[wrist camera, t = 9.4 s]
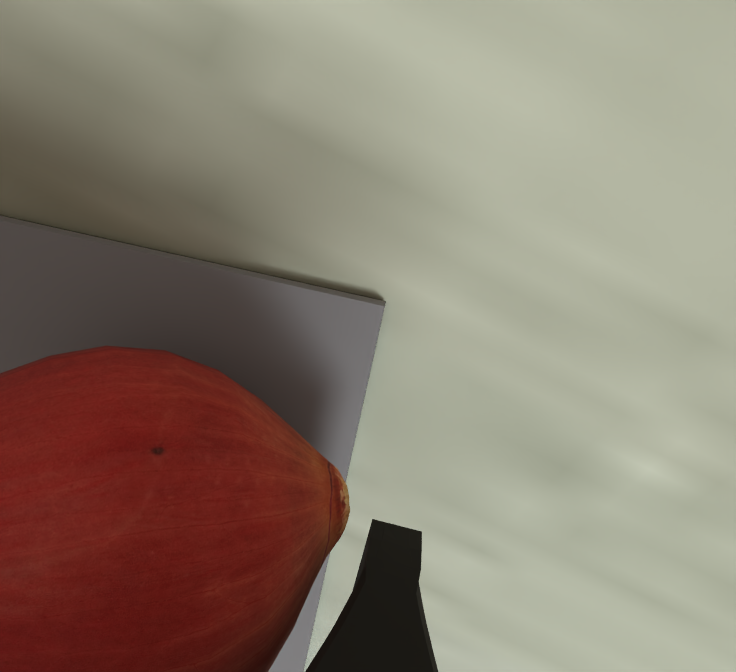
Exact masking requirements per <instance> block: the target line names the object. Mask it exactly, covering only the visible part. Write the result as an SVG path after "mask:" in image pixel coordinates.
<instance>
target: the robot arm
mask: <svg viewBox="0 0 736 672" xmlns="http://www.w3.org/2000/svg"><path fill="white" fill-rule="evenodd" d="M421 551H422V532H421V531H417V530H413V529H409V528H405V527H401V526H398V525H394V524H390V523H386V522H382V521H378V520H374V519H372V523H371V527H370V530H369V534H368V537H367V541H366V545H365V548H364V552H363V555H362V559H361V563H360V566H359V570H358V574H357V577H356V581H355V584H354V588H353V592H352V594H351V595H350V597H349V599H348V601H347V603H346V605H345V607H344V608H343V610H342V612H341V614H340V616H339V618H338V619H337V621H336V623H335V625H334V627H333V628H332V630H331V632H330V633H329V635H328V637H327V638H326V640H325V641H324V643H323V645H322V646H321V648H320V649H319V651H318V653H317V654H316V656H315V657H314V659H313V660H312V662H311V664H310V665H309V667H308V668H307V670H306V671H305V672H438V669H437V665H436V661H435V657H434V653H433V649H432V645H431V641H430V636H429V632H428V628H427V624H426V619H425V614H424V609H423V604H422V599H421V593H420V587H419V576H420V571H421Z"/></svg>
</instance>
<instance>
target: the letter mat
mask: <svg viewBox="0 0 736 672" xmlns="http://www.w3.org/2000/svg"><path fill="white" fill-rule="evenodd" d="M385 303H386V301H382V300H377V299H373V298H368V297H364V296H359V295H355V294H350V293H346V292H341V291H337V290H332V289H328V288H323V287H319V286H314V285H310V284H305V283H301V282H296V281H292V280H287V279H283V278H278V277H274V276H269V275H265V274H261V273H256V272H252V271H247V270H243V269H238V268H234V267H229V266H225V265H220V264H216V263H211V262H207V261H202V260H198V259H193V258H189V257H184V256H180V255H175V254H171V253H166V252H162V251H157V250H153V249H148V248H144V247H139V246H135V245H130V244H126V243H121V242H117V241H113V240H108V239H104V238H99V237H95V236H90V235H86V234H81V233H77V232H72V231H68V230H63V229H59V228H54V227H50V226H45V225H41V224H36V223H32V222H27V221H23V220H18V219H14V218H9V217H5V216H0V373H2V372H5V371H8V370H11V369H14V368H17V367H19V366H22V365H25V364H28V363H31V362H33V361H36V360H39V359H42V358H45V357H47V356H51V355H57V354H62V353H68V352H73V351H79V350H84V349H90V348H95V347H101V346H118V347H131V348H143V349H156V350H166V351H168V352H171V353H174V354H177V355H179V356H182V357H185V358H187V359H190V360H193V361H195V362H198V363H201V364H203V365H206V366H209V367H211V368H214V369H217V370H219V371H220V372H222V373H223V374H225V375H226V376H228V377H229V378H231V379H232V380H233V381H235V382H236V383H238V384H239V385H241V386H242V387H244V388H245V389H246V390H248V391H249V392H251V393H252V394H254V395H255V396H257V397H258V398H260V399H261V400H262V401H263V402H265V403H266V404H267V405H268V406H269V407H270V408H271V409H272V410H273V411H275V412H276V413H277V414H278V415H279V416H280V417H281V418H282V419H283V420H285V421H286V422H287V423H288V424H289V425H290V426H291V427H292V428H293V429H294V430H296V431H297V432H298V433H299V434H300V435H301V436H302V437H303V438H304V439H305V440H306V441H307V442H308V443H309V444H310V445H311V446H312V447H313V448H315V449H316V450H317V451H318V452H319V453H320V454H321V455H322V456H323V457H325V458H326V459H327V460H328V461H329V462H330V463H332V464H333V465H334V466H335V467H336V468H337V469H338V470H339V472H340V474H341V476H342V477H343V479H344V481H345V482H346V478H347V473H348V469H349V464H350V460H351V455H352V451H353V446H354V442H355V437H356V433H357V428H358V424H359V419H360V415H361V410H362V406H363V401H364V397H365V393H366V388H367V384H368V379H369V375H370V370H371V366H372V361H373V357H374V352H375V348H376V343H377V339H378V334H379V330H380V325H381V321H382V316H383V312H384V307H385ZM329 554H330V553H329ZM329 554H328V556H327V557H326V559H325V561H324V563H323V565H322V567H321V569H320V571H319V573H318V575H317V577H316V579H315V581H314V583H313V585H312V588H311V590H310V592H309V594H308V597H307V599H306V601H305V603H304V606H303V608H302V610H301V612H300V615H299V617H298V619H297V622H296V624H295V626H294V628H293V630H292V632H291V634H290V635H289V637H288V639H287V640H286V642H285V644H284V646H283V647H282V649H281V651H280V652H279V654H278V656H277V658H276V659H275V661H274V663H273V664H272V666H271V668H270V670H269V671H268V672H303V670H304V666H305V661H306V657H307V652H308V648H309V643H310V639H311V635H312V630H313V626H314V621H315V617H316V612H317V608H318V603H319V599H320V594H321V590H322V585H323V581H324V576H325V572H326V567H327V563H328V558H329Z"/></svg>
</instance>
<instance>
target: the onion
mask: <svg viewBox="0 0 736 672" xmlns="http://www.w3.org/2000/svg"><path fill="white" fill-rule="evenodd" d="M349 513H350V506H349V494H348V489H347V485H346V483H345V481H344V479H343V477H342V476H341V474H340V472H339V470H338V469H337V468H336V467H335V466H334V465H333V464H332V463H330V462H329V461H328V460H327V459H326V458H325V457H323V456H322V455H321V454H320V453H319V452H318V451H317V450H316V449H315V448H313V447H312V446H311V445H310V444H309V443H308V442H307V441H306V440H305V439H304V438H303V437H302V436H301V435H300V434H299V433H298V432H297V431H296V430H294V429H293V428H292V427H291V426H290V425H289V424H288V423H287V422H286V421H285V420H283V419H282V418H281V417H280V416H279V415H278V414H277V413H276V412H275V411H273V410H272V409H271V408H270V407H269V406H268V405H267V404H266V403H265V402H263V401H262V400H261V399H260V398H258V397H257V396H255V395H254V394H252V393H251V392H249V391H248V390H246V389H245V388H244V387H242V386H241V385H239V384H238V383H236V382H235V381H233V380H232V379H231V378H229V377H228V376H226V375H225V374H223V373H222V372H220V371H219V370H217V369H214V368H211V367H209V366H206V365H203V364H201V363H198V362H195V361H193V360H190V359H187V358H185V357H182V356H179V355H177V354H174V353H171V352H168V351H166V350H156V349H143V348H131V347H118V346H101V347H95V348H90V349H84V350H79V351H73V352H68V353H62V354H57V355H51V356H47V357H45V358H42V359H39V360H36V361H33V362H31V363H28V364H25V365H22V366H19V367H17V368H14V369H11V370H8V371H5V372H2V373H0V672H268V671H269V670H270V668H271V666H272V664H273V663H274V661H275V659H276V658H277V656H278V654H279V652H280V651H281V649H282V647H283V646H284V644H285V642H286V640H287V639H288V637H289V635H290V634H291V632H292V630H293V628H294V626H295V624H296V622H297V619H298V617H299V615H300V612H301V610H302V608H303V606H304V603H305V601H306V599H307V597H308V594H309V592H310V590H311V588H312V585H313V583H314V581H315V579H316V577H317V575H318V573H319V571H320V569H321V567H322V565H323V563H324V561H325V559H326V557H327V556H328V554H329V553H330V552H331V550H332V549H333V547H334V546H335V544H336V543H337V542H338V540H339V539H340V537H341V535H342V533H343V531H344V530H345V527H346V524H347V521H348V517H349Z"/></svg>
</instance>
